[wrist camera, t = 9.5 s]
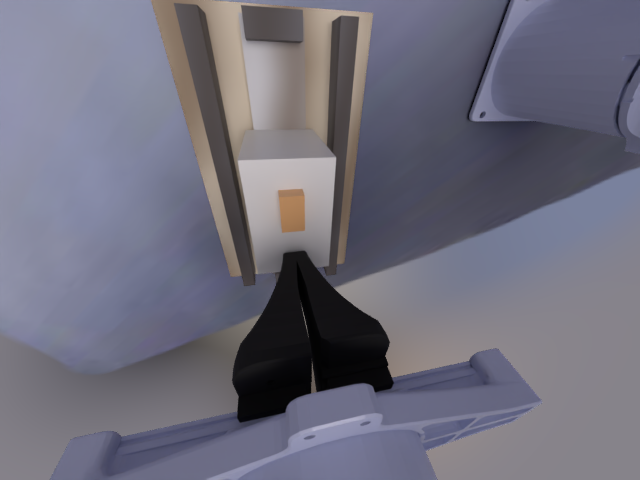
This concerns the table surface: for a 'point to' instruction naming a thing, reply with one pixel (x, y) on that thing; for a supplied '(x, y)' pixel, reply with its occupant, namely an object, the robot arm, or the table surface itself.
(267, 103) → the mounting board
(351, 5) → the table surface
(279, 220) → the block
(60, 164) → the table surface
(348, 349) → the robot arm
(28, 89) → the table surface
